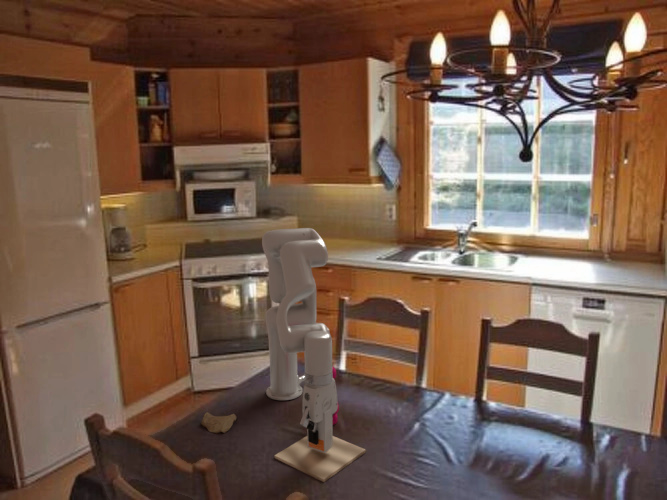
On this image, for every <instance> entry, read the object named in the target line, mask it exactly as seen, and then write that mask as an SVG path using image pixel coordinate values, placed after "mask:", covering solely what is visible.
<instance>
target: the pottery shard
mask: <svg viewBox="0 0 667 500" xmlns="http://www.w3.org/2000/svg"><path fill="white" fill-rule="evenodd" d="M237 418H238V417H237V416H236V414H235V413H232V414H230V415H223V416H216V415H213V414H211V413H210V412H206V413H204V415H203V417H202V421H201V425H202V426H203V427H204V428H206V429H207V431H208V432H210V433H213V434H219V433H223V434H225V433H227V432H228V431H230V429H231V428H232V426H233V424H234V422H235V421H236V420H237Z"/></svg>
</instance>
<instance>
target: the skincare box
mask: <svg viewBox="0 0 667 500" xmlns="http://www.w3.org/2000/svg"><path fill="white" fill-rule="evenodd" d="M311 425H312V426H313V422H312V421H311ZM333 426H334V425H333V424H332V415H331V409H329V410H328V411H326V412H324V413H323V420H322V421H320V422H318V424H317V431H318V444H317V445H315V444H313V443H311V442H309V441H308V429H306V431H307V432H306V433H307V434H306V436H307V447H308V448H311V449H314V450H317V451H320V452H323V453H326V452H327V451H328V450H329V449H330V448H332V447H333V436H334V435H333V431H334V430H333Z"/></svg>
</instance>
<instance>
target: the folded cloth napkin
mask: <svg viewBox="0 0 667 500" xmlns="http://www.w3.org/2000/svg"><path fill="white" fill-rule="evenodd" d="M366 452H367V450H366V448H363V447H360V446H358V445H356V444H353V443H351V442H348V441H346V440H344V439H341V438H339V437H336V436H334V435H333V447H332V448H330V449H329V450H328V451H327V452H326V453H323V452H320V451H317V450H314V449H311V448H308V447H307V435H306V436H304V437H303V438H301V439H300V440H297V441H296V442H294V443H293V444H291V445H290V446H288V447H287V448H284V449H282V451H279V452H277V453H276V454H274V459H276V460H278V461H279V462H282V463H284V464H286V465H288V466H290V467H292V468H294V469H296V470H298V471H300V472H302V473H304V474H306V475H308V476H310V477H312V478H315V479H316V480H319V481H321V482H322V483H325V482H326V481H327V480H329V479H330V478H331V477H334V476H335V475H336V474H338V473H339V472H340V471H342V470H343V469H344V468H346V467H347V466H348V465H350V464H351V463H353V462H354V461H355V460H357V459H358V458H360V457H361V456H363V455H364V454H366Z"/></svg>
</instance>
